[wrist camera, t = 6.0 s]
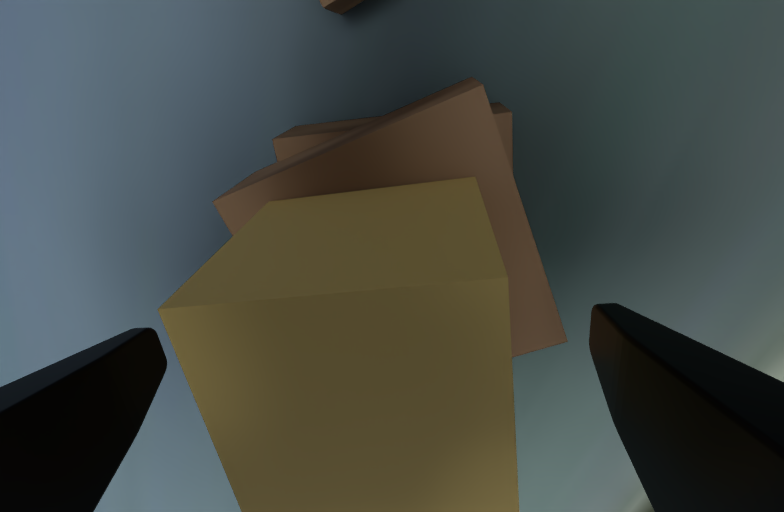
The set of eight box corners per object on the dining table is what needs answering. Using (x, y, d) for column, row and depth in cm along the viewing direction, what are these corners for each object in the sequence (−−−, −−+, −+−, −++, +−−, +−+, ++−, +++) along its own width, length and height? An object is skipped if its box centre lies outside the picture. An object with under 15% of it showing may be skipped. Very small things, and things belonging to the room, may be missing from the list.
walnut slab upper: (471, 76, 12) (482, 84, 10) (542, 288, 15) (567, 341, 12) (254, 171, 14) (212, 201, 11) (351, 348, 17) (335, 407, 14)
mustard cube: (475, 176, 10) (508, 277, 6) (488, 353, 13) (520, 528, 8) (268, 201, 11) (157, 309, 7) (313, 365, 13) (251, 533, 9)
